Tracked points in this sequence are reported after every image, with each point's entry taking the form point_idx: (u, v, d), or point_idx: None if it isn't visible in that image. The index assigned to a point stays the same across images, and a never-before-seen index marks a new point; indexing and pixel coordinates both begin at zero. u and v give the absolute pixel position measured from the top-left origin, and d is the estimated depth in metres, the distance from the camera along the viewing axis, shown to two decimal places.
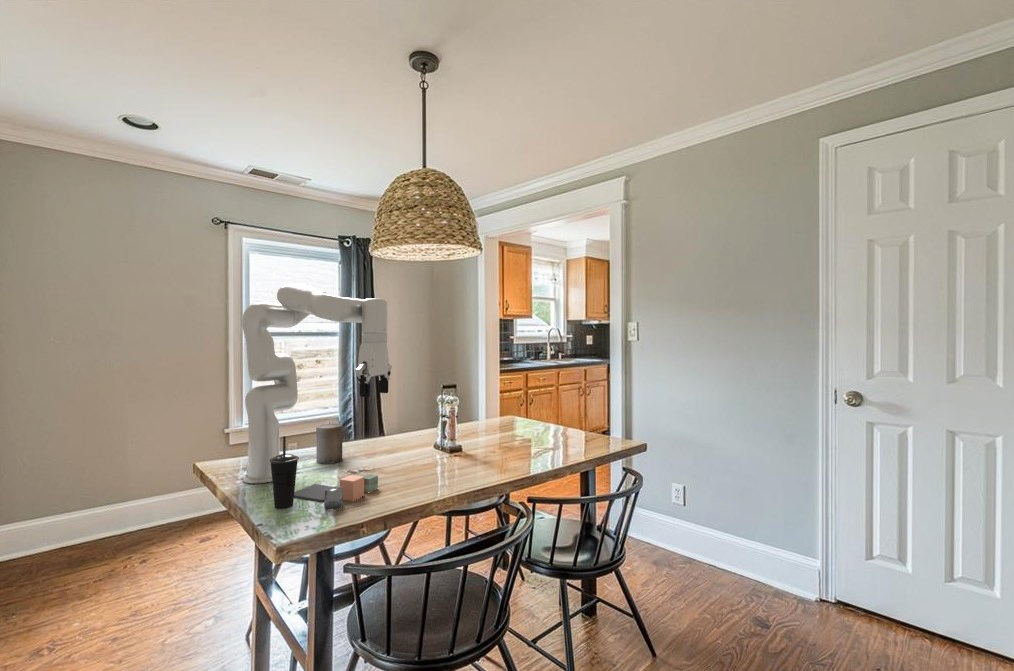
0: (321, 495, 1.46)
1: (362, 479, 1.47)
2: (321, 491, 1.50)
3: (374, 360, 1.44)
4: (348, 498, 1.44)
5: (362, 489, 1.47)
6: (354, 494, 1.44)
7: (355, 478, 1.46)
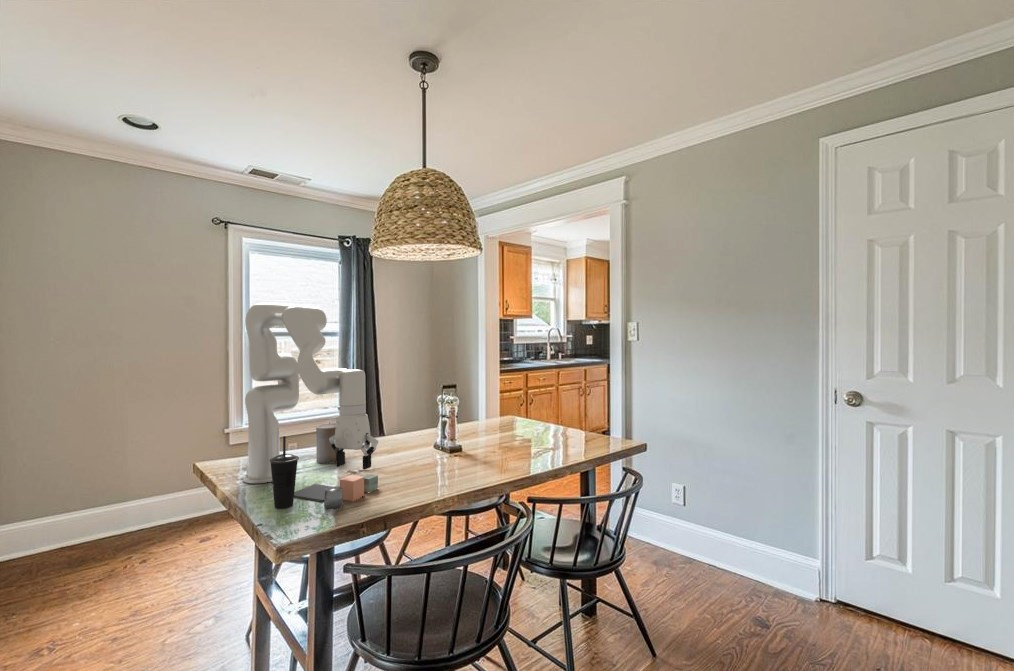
0: (321, 495, 1.46)
1: (362, 479, 1.47)
2: (321, 491, 1.50)
3: None
4: (348, 498, 1.44)
5: (362, 489, 1.47)
6: (354, 494, 1.44)
7: (355, 478, 1.46)
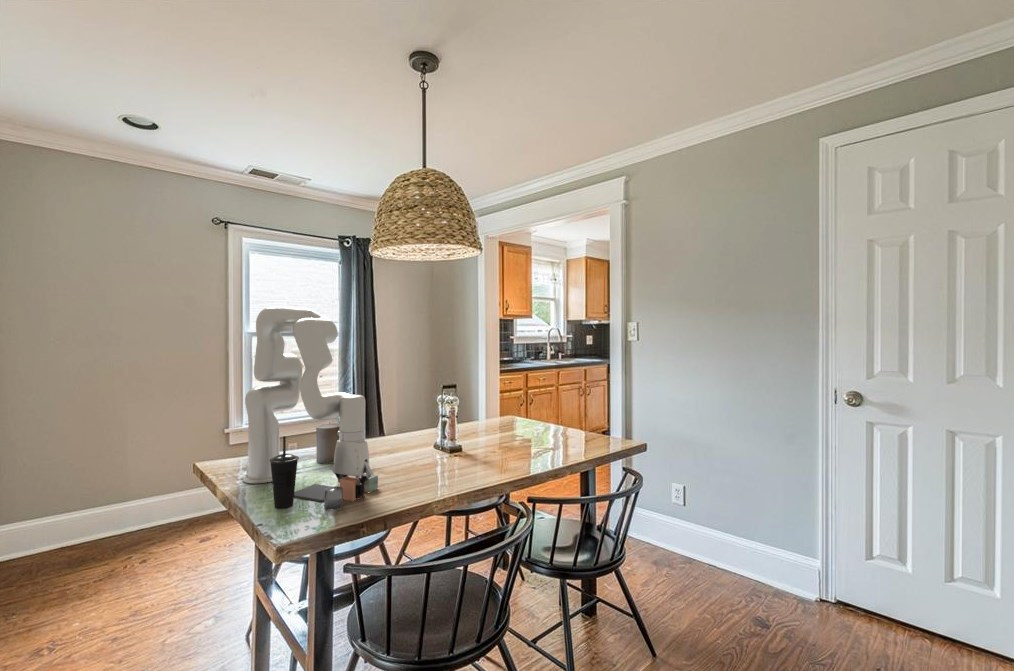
0: (321, 495, 1.46)
1: None
2: (321, 491, 1.50)
3: None
4: (348, 498, 1.44)
5: None
6: (354, 493, 1.44)
7: (355, 478, 1.46)
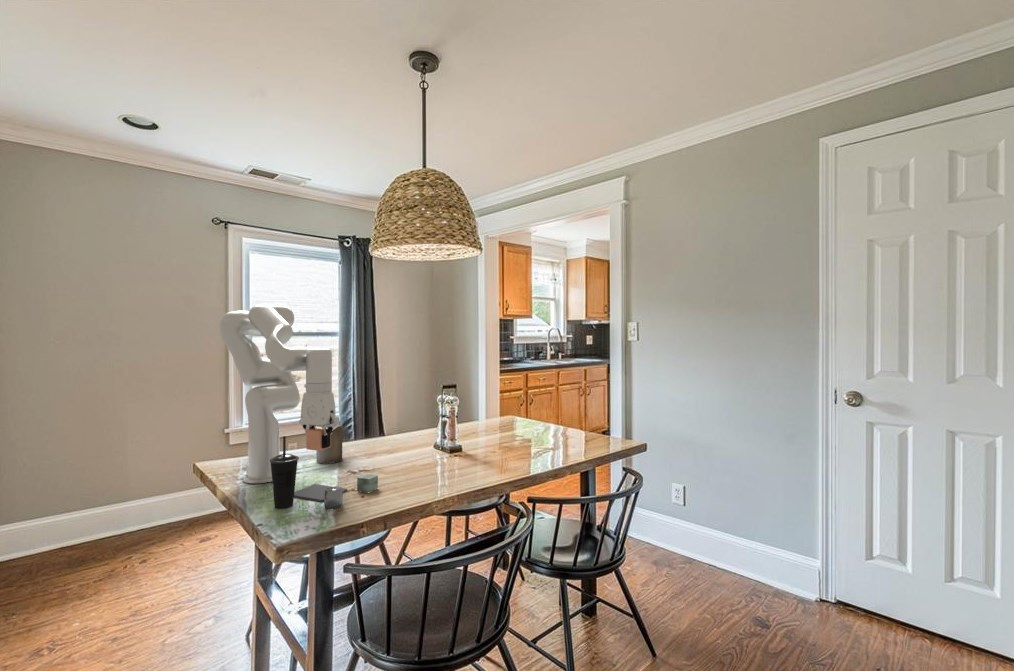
0: (321, 495, 1.46)
1: None
2: (321, 491, 1.50)
3: None
4: (314, 448, 1.47)
5: None
6: (320, 443, 1.47)
7: None
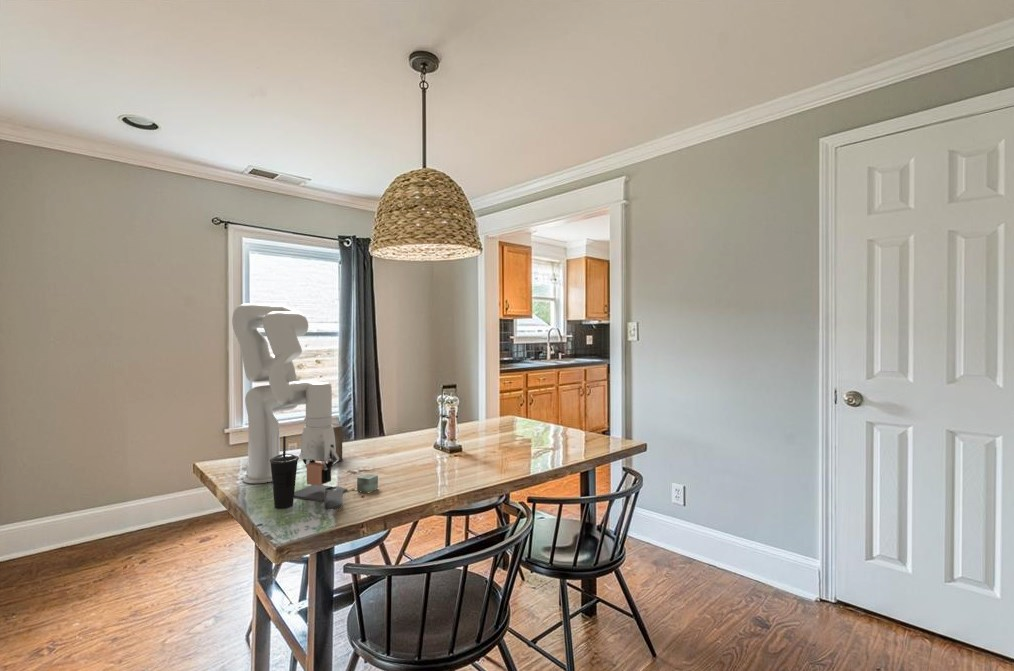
0: (321, 495, 1.46)
1: None
2: (321, 491, 1.50)
3: None
4: (315, 482, 1.47)
5: None
6: (321, 478, 1.47)
7: None
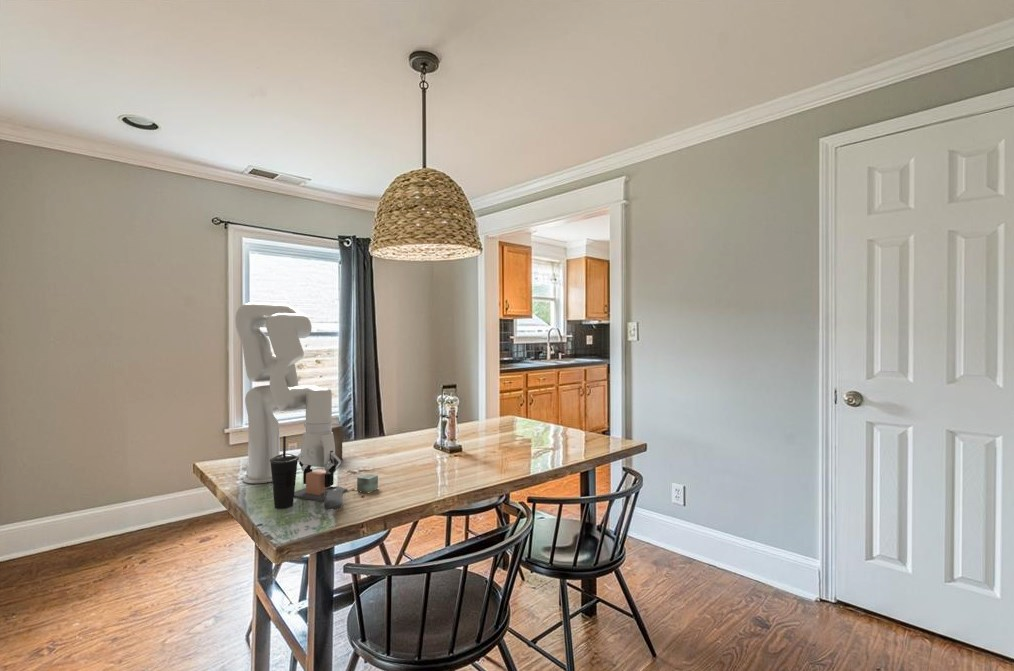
0: (321, 495, 1.46)
1: None
2: None
3: None
4: (314, 492, 1.47)
5: None
6: (320, 487, 1.47)
7: (321, 472, 1.50)
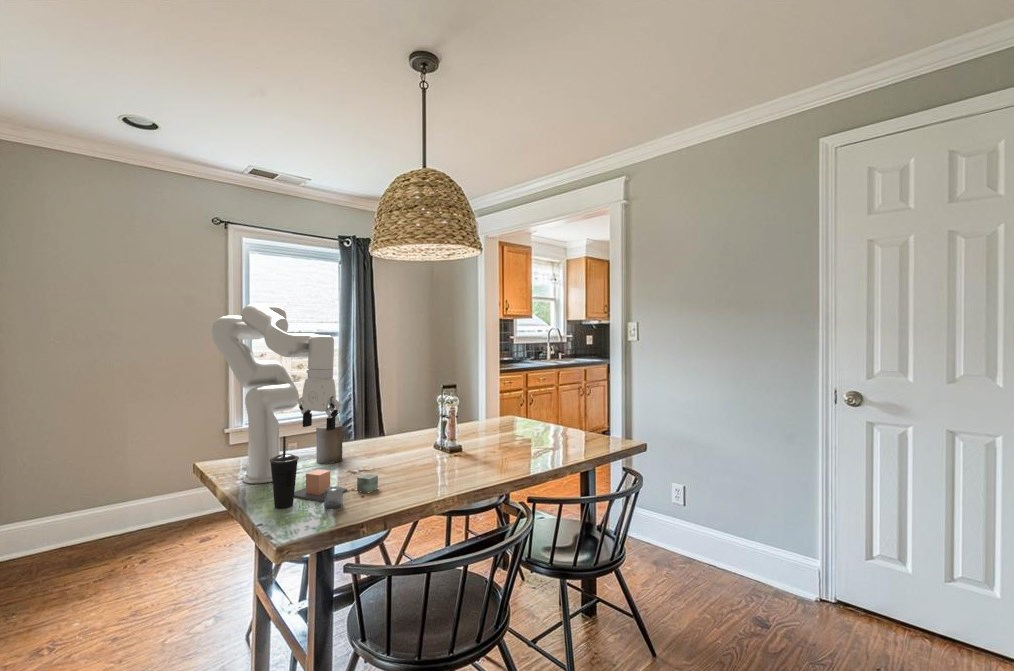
0: (321, 495, 1.46)
1: (328, 473, 1.51)
2: None
3: None
4: (314, 492, 1.47)
5: (328, 483, 1.51)
6: (320, 487, 1.47)
7: (321, 472, 1.50)
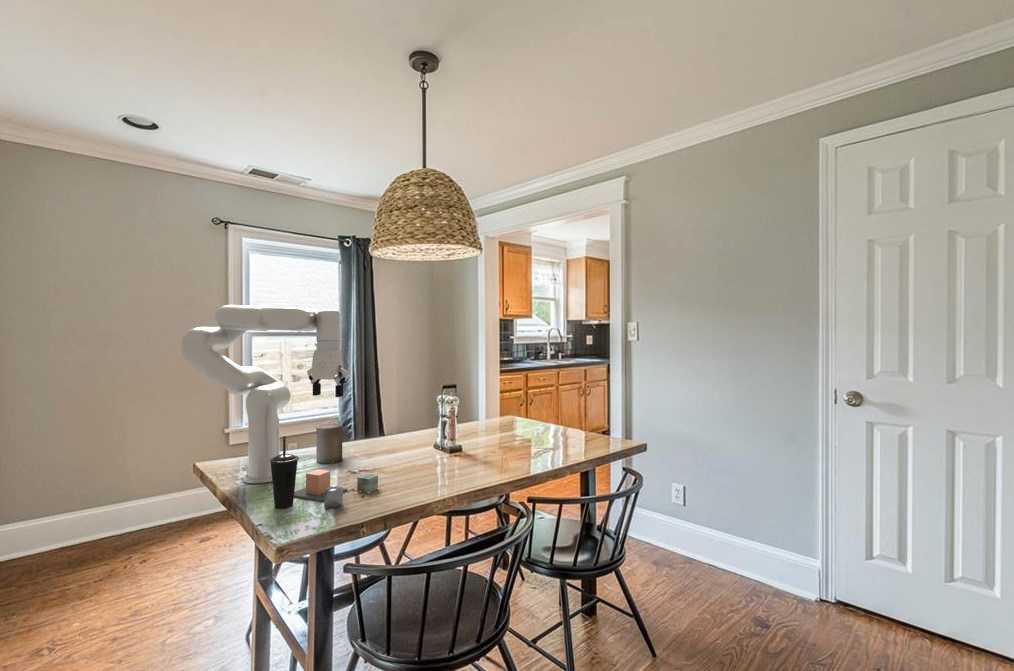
0: (321, 495, 1.46)
1: (328, 473, 1.51)
2: None
3: None
4: (314, 492, 1.47)
5: (328, 483, 1.51)
6: (320, 487, 1.47)
7: (321, 472, 1.50)
